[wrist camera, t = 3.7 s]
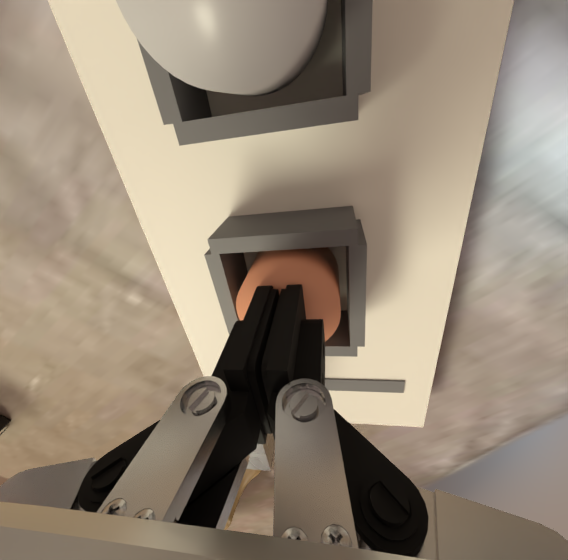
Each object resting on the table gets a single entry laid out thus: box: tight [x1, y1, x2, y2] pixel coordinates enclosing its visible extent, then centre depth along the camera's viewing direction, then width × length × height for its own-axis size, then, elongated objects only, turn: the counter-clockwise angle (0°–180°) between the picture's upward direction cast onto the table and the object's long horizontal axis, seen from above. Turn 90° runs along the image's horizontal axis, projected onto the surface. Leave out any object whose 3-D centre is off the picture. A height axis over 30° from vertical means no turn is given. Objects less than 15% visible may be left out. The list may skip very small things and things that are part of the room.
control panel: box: [48, 0, 514, 427], centre depth 13 cm, size 14×24×4 cm, turn 8°
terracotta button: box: [236, 247, 341, 341], centre depth 12 cm, size 4×4×3 cm
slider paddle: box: [246, 433, 275, 471], centre depth 16 cm, size 2×4×4 cm, turn 8°
